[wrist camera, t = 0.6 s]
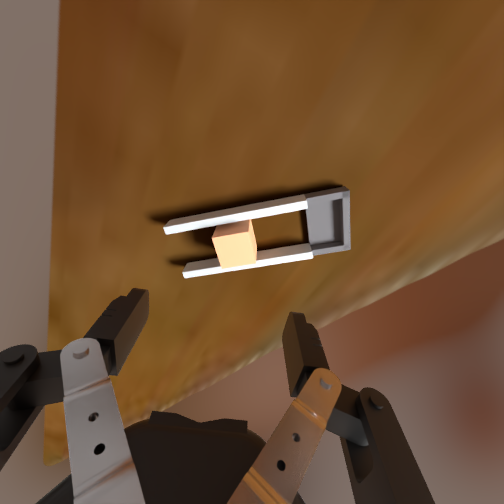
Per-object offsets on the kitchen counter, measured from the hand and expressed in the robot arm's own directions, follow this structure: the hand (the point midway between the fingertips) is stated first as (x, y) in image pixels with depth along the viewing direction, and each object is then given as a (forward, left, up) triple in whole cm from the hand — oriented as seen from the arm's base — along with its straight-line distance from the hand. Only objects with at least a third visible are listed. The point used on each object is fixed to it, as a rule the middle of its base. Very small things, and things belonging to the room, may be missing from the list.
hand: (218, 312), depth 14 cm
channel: (+1, +5, -20) cm, 21 cm away
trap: (-10, +5, -20) cm, 23 cm away
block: (+2, +5, -20) cm, 21 cm away
